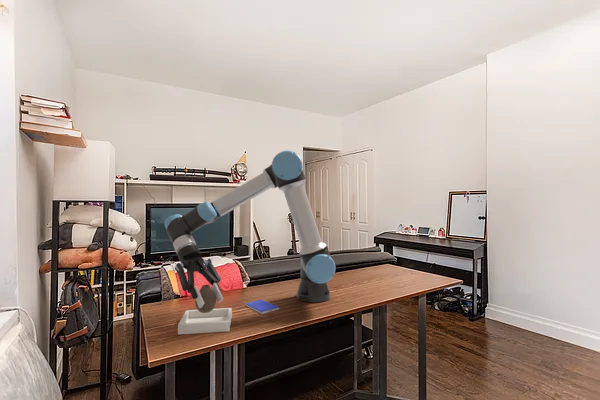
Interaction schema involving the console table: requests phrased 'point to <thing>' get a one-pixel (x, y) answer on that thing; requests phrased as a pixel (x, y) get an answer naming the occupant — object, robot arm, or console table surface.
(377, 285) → the console table surface
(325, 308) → the console table surface
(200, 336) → the console table surface
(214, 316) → the box
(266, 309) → the hard drive
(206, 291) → the vase
